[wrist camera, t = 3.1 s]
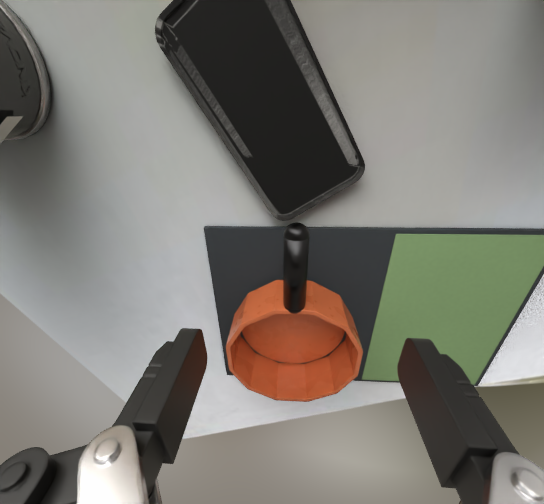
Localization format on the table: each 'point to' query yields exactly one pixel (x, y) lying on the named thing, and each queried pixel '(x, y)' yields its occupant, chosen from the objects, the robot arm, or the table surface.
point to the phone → (263, 97)
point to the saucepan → (294, 333)
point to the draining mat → (395, 285)
